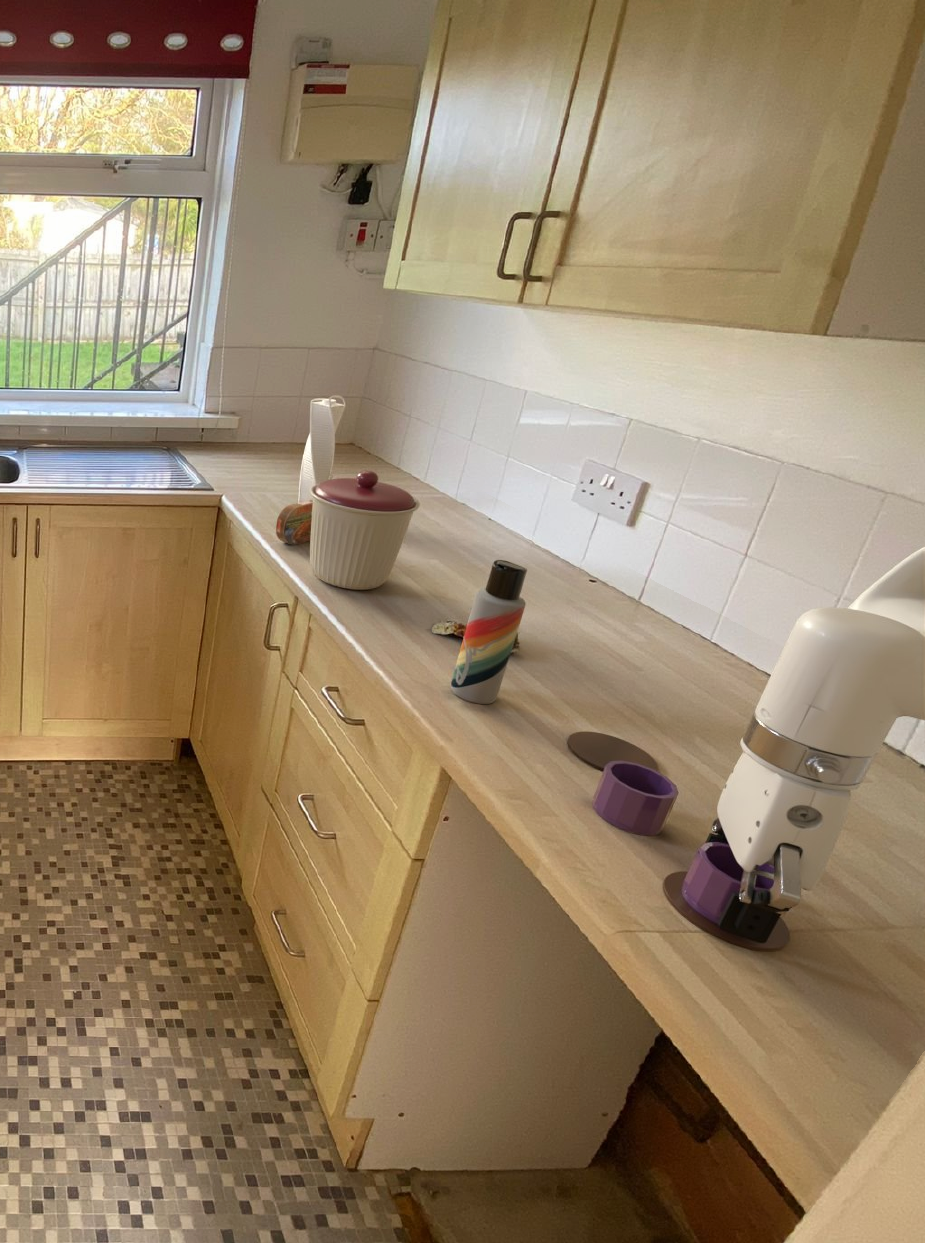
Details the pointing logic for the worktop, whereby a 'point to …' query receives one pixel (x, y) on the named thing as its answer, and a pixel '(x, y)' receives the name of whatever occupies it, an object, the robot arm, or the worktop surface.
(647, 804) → the ramekin
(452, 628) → the pastry
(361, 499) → the canister
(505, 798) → the worktop surface
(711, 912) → the ramekin
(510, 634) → the lotion bottle
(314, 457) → the skyscraper
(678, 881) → the coaster front
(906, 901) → the worktop surface
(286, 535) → the tin
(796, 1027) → the worktop surface
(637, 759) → the coaster back
